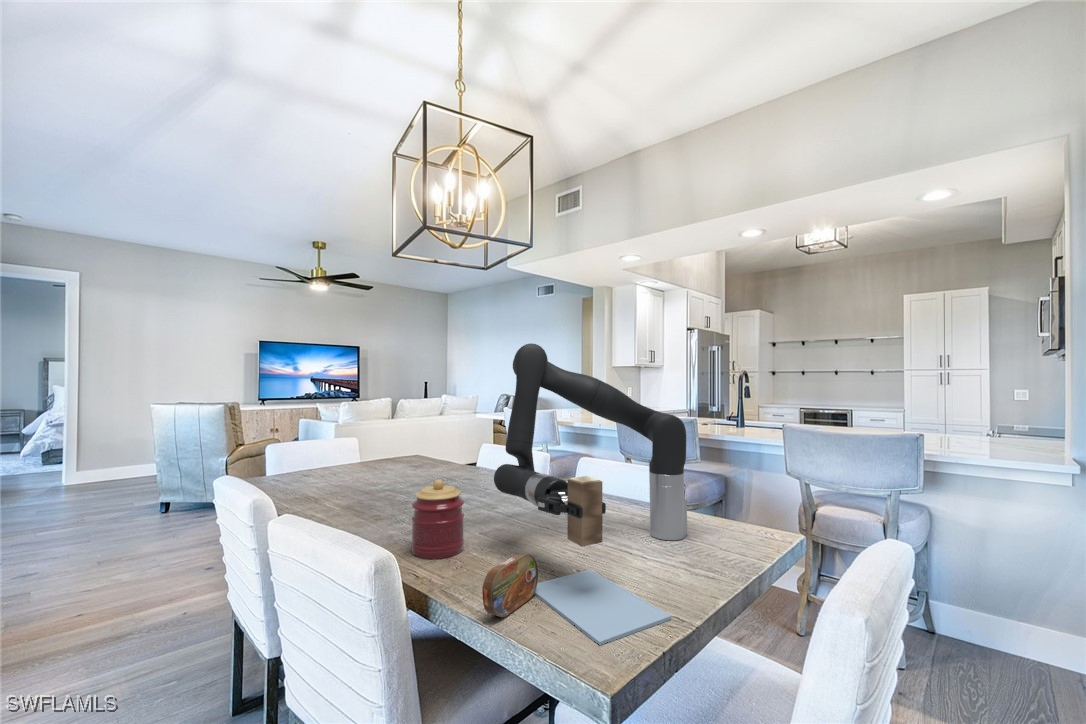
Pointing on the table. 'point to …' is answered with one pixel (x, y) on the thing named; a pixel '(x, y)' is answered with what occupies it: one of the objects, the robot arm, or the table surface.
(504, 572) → the tin
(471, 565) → the table surface
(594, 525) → the walnut block
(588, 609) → the mat
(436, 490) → the canister
